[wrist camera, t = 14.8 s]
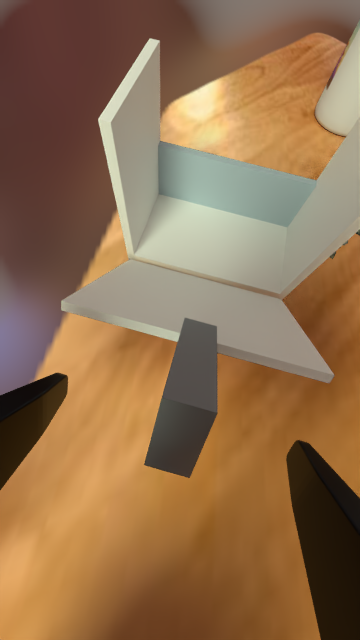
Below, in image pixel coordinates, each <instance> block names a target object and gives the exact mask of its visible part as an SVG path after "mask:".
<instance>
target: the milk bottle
mask: <svg viewBox="0 0 360 640" xmlns="http://www.w3.org/2000/svg"><path fill="white" fill-rule="evenodd" d="M315 116H316V119H317V121H318V122H319V123H320V125H322V126H323V127H324V128H325V129H327V130H328V131H330V132H332V133H334V134H337V135H340V136H345V137H346V136H347V135H348V134H349V132H350V131H351V129H352V128H353V126H354V125H355V123H356V122H357V120H358V119H359V117H360V21H359V22H358V24H357V26H356V28H355V30H354V32H353V34H352V36H351V38H350V40H349V42H348V44H347V46H346V48H345V50H344V51H343V53H342V55H341V57H340V59H339V61H338V63H337V65H336V67H335V69H334V71H333V73H332V75H331V77H330V79H329V81H328V83H327V85H326V87H325V89H324V91H323V93H322V95H321V97H320V99H319V101H318V103H317V105H316V108H315Z"/></svg>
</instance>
